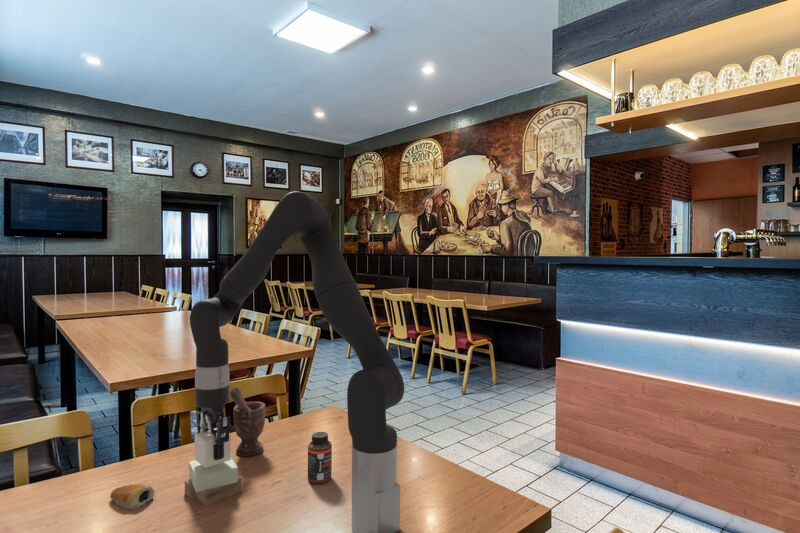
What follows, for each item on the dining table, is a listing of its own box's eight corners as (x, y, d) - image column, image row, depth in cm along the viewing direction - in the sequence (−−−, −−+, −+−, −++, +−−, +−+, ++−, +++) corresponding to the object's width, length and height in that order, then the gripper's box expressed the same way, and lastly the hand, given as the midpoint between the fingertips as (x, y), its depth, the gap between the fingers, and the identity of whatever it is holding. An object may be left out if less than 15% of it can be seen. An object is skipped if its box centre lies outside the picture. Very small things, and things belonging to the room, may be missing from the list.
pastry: (101, 504, 105) (101, 487, 105) (127, 490, 111) (127, 474, 111) (133, 512, 102) (133, 495, 102) (158, 497, 108) (158, 481, 108)
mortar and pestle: (258, 462, 126) (258, 389, 125) (226, 463, 125) (226, 389, 125) (267, 445, 137) (268, 377, 137) (237, 446, 137) (237, 378, 136)
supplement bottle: (326, 486, 113) (326, 439, 113) (303, 483, 115) (303, 437, 114) (334, 474, 119) (335, 430, 119) (313, 472, 121) (313, 428, 120)
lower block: (241, 492, 111) (241, 477, 111) (206, 508, 104) (206, 492, 104) (219, 481, 116) (219, 467, 116) (184, 496, 109) (184, 481, 109)
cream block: (230, 459, 110) (230, 434, 110) (205, 467, 106) (205, 441, 105) (219, 451, 114) (219, 427, 114) (194, 459, 110) (194, 434, 110)
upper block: (237, 482, 109) (237, 467, 109) (196, 492, 104) (196, 476, 104) (228, 467, 116) (228, 453, 116) (189, 476, 111) (189, 461, 111)
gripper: (241, 386, 107) (241, 459, 107) (215, 375, 117) (215, 441, 118) (209, 393, 102) (209, 469, 102) (184, 380, 112) (184, 450, 112)
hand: (212, 454), depth 110 cm, fingers closed on cream block, 6 cm apart
